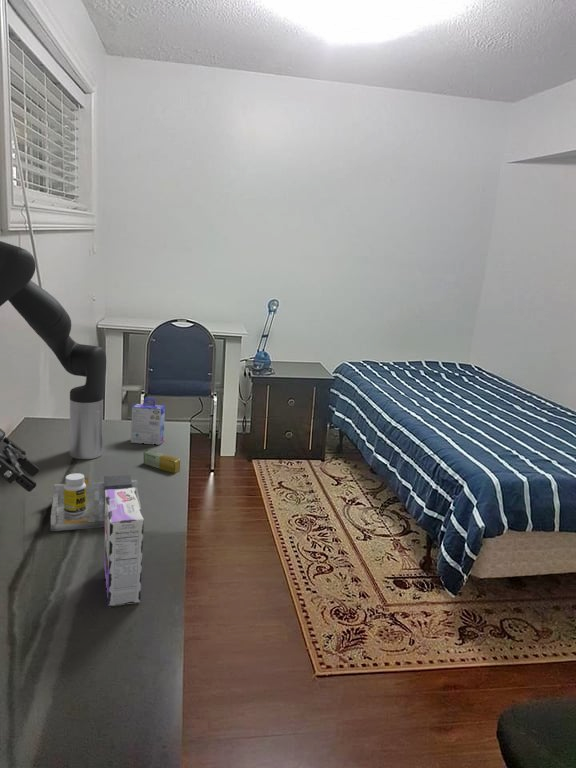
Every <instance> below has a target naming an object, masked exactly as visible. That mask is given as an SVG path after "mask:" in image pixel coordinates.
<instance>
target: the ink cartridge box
mask: <svg viewBox="0 0 576 768" xmlns="http://www.w3.org/2000/svg"><path fill="white" fill-rule="evenodd" d="M147 401H152V402H147ZM165 414H166V406H165V405H159V404H156V398H151V397H144V400H143V403H135V404H134V405H133V406H132V407H131V424H130V425H131V427H130V443H131V444H132V443H133V444H142V443H144V444H145V445H146V444H147V445H154V444H156V445H155V446H161V445H162V443H163V442H165V419H166V417H165ZM144 444H143V445H144Z"/></svg>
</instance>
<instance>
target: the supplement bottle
mask: <svg viewBox="0 0 576 768" xmlns="http://www.w3.org/2000/svg"><path fill="white" fill-rule="evenodd" d="M84 478H85V475H84V474H83V473H78V472H77V473H76V472H75V473H70V474H67V475H65V483H64V484H65V486H64V512H65V513H66V514H69V515H77V514H81V513H83V512H84V511H85V510H86V484H85V483H84V481H85V480H84Z"/></svg>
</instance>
